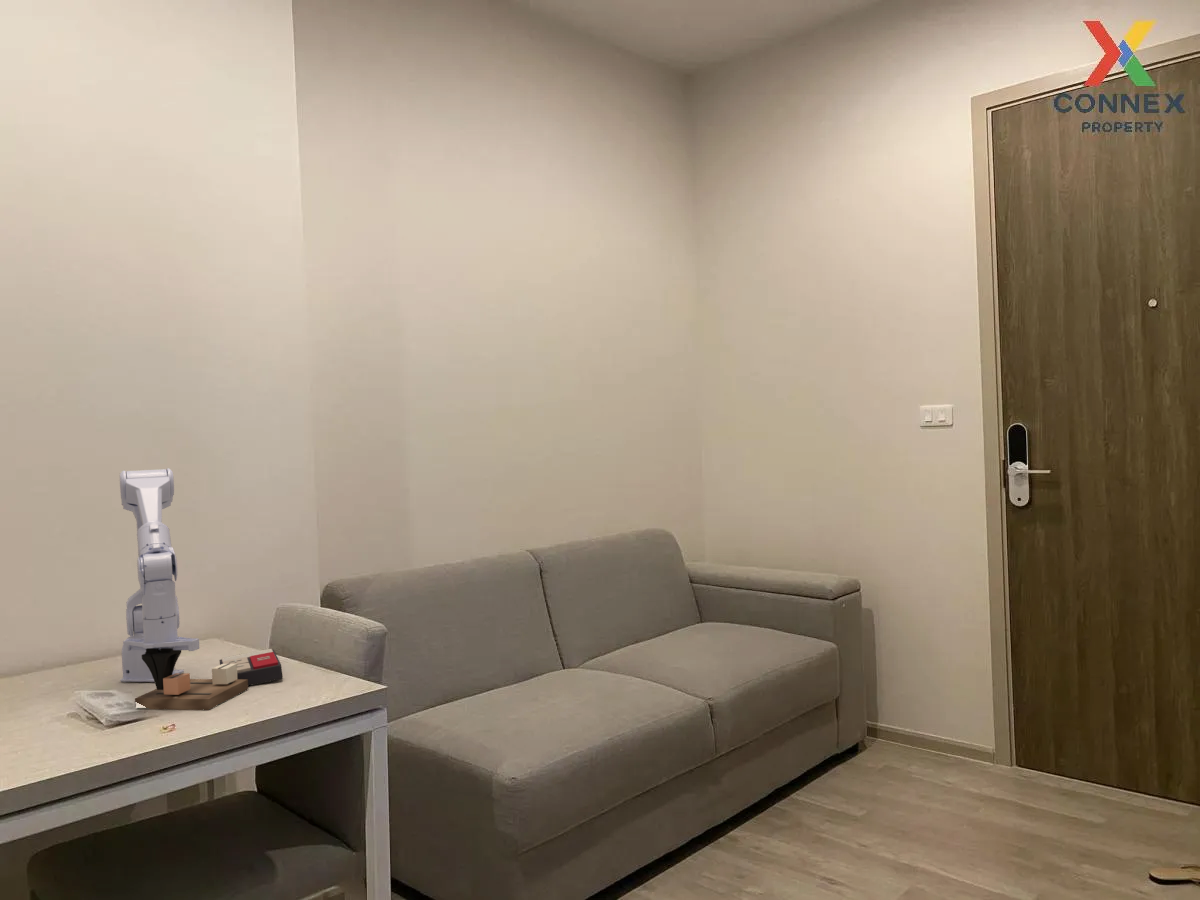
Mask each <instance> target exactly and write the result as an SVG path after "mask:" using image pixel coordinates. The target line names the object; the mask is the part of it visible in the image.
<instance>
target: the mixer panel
mask: <svg viewBox="0 0 1200 900" xmlns="http://www.w3.org/2000/svg"><path fill="white" fill-rule="evenodd" d="M247 689H248V690H249V686H248V679H237V680H234V681H232V682H230V683H228V684H213V682H212V678H190V690H188V691H185V692H183V693H181V694H179V695H164V690H157V688H155V689H152V690H150V691H148V692H146V693H144V694H141V695H139V696H136V697H134V703H135V702H137V703H139V704H141V705H143V706H145V707H146V708H149V709H148V710H174V711H175V710H176V711H177V710H179V711H210V710H212V709H214V708H215V706H216V705H218V704H220V703H221V704H223V703H225V702H227V701H229V700H231V699H232V697H233V698H235V697H237V696H239V695H240V694H239V693H241V692H242V693H244V692H246V691H248V690H247ZM245 690H246V691H245ZM243 691H244V692H243ZM242 693H241V694H242ZM238 694H239V695H238ZM236 695H237V696H236ZM234 696H235V697H234ZM230 698H231V699H230ZM228 699H229V700H228ZM226 700H227V701H226ZM224 701H225V702H224ZM222 702H223V703H222ZM221 704H220V705H221ZM218 706H219V705H218ZM213 707H214V708H213ZM216 707H217V706H216ZM211 708H212V709H211ZM203 709H204V710H203ZM209 709H210V710H209Z"/></svg>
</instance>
